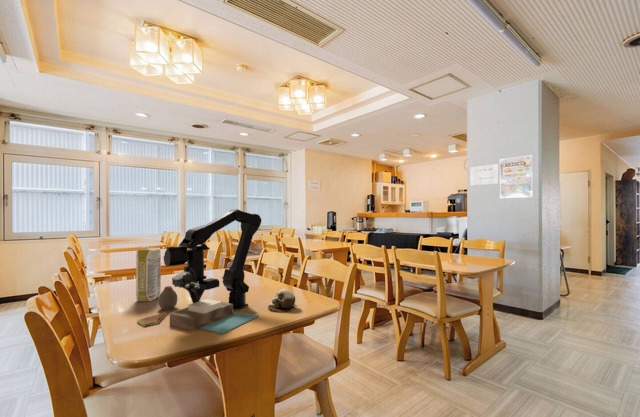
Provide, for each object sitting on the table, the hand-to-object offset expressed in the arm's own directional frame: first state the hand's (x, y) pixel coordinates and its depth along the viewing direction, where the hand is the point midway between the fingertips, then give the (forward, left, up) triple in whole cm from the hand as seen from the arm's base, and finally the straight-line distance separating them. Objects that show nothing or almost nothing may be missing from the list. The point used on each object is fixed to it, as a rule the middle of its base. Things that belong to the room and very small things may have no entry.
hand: (195, 305), depth 110 cm
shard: (+9, -12, -5) cm, 16 cm away
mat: (-2, +15, -5) cm, 16 cm away
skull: (-24, +23, -5) cm, 33 cm away
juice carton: (-8, -39, -5) cm, 40 cm away
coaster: (0, +5, -1) cm, 5 cm away
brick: (0, +4, -5) cm, 6 cm away
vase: (-3, -19, -5) cm, 20 cm away
